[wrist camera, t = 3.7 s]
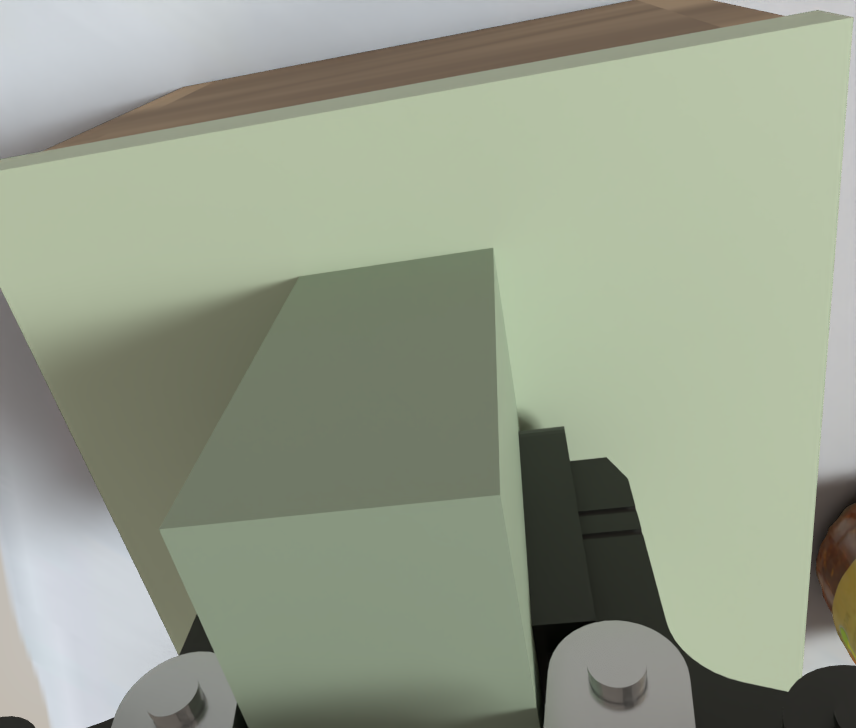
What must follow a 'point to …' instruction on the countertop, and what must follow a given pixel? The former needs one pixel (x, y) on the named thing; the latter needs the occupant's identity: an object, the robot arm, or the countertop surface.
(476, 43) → the box
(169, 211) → the lid
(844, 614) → the sauce bottle
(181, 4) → the countertop surface
